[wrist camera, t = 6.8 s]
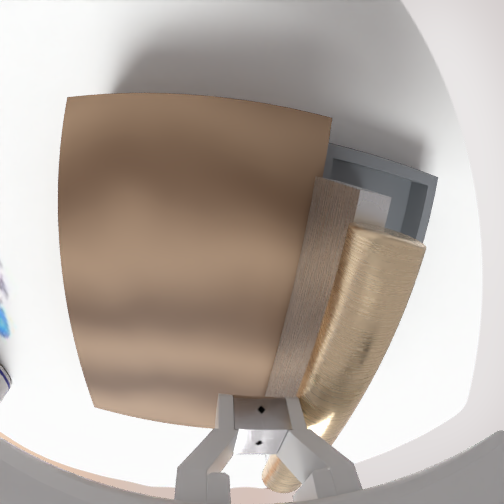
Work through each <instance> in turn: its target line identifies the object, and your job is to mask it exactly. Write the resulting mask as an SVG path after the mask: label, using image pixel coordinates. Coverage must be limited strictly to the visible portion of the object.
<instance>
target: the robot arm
mask: <svg viewBox="0 0 504 504" xmlns="http://www.w3.org/2000/svg"><path fill="white" fill-rule="evenodd" d="M233 454H277V456H278V458H279V459H280V460H281V461H282V462H283V463H284V465H285V466H286V467H287V468H288V469H289V470H290V471H291V472H292V474H293V475H294V476H295V477H296V478H297V479H298V480H299V481H300V482H301V483H302V486H301V487H300V488H299V489H298V490H297V491H296V492H295V494H294V495H293V502H288V503H275V504H504V431H497V432H496V433H494V434H492V435H491V436H489V437H487V438H486V439H484V440H483V441H481V442H479V443H477V444H476V445H474V446H472V447H470V448H468V449H467V450H465V451H463V452H461V453H459V454H457V455H455V456H453V457H451V458H449V459H447V460H444V461H442V462H440V463H438V464H436V465H434V466H431V467H429V468H426V469H424V470H421V471H419V472H416V473H414V474H411V475H409V476H406V477H403V478H400V479H397V480H394V481H391V482H388V483H385V484H381V485H378V486H375V487H371V488H367V489H362V486H361V483H360V481H359V478H358V475H357V472H356V469H355V466H354V464H353V463H352V462H351V461H350V460H349V459H347V458H346V457H345V456H343V455H342V454H341V453H340V452H338V451H337V450H336V449H335V448H333V447H332V446H331V445H330V444H328V443H327V442H326V441H325V440H324V439H322V438H321V437H320V436H319V435H318V434H316V433H315V432H314V431H313V430H312V429H307V426H306V423H305V419H304V415H303V412H302V408H301V405H300V401H299V398H298V397H266V396H258V397H255V396H241V395H228V394H218V401H217V408H216V419H215V428H214V429H213V430H212V431H211V432H210V433H209V434H208V436H207V437H206V438H205V439H204V440H203V441H202V442H201V443H200V444H199V445H198V446H197V448H196V449H195V450H194V451H193V452H192V453H191V454H190V455H189V456H188V457H187V458H186V459H185V460H184V461H183V462H182V463H181V464H180V465H179V466H178V468H177V477H176V487H175V499H167V498H161V497H155V496H150V495H145V494H141V493H136V492H132V491H128V490H124V489H119V488H116V487H113V486H109V485H106V484H103V483H99V482H96V481H93V480H90V479H87V478H84V477H82V476H79V475H76V474H74V473H71V472H69V471H66V470H64V469H61V468H59V467H57V466H54V465H52V464H50V463H48V462H46V461H43V460H41V459H39V458H37V457H35V456H33V455H31V454H29V453H27V452H25V451H24V450H22V449H20V448H18V447H16V446H15V445H12V444H11V443H9V442H8V441H6V440H4V439H3V438H1V437H0V504H231V499H230V480H229V476H228V475H227V474H226V473H220V472H221V471H222V470H223V468H224V467H225V466H226V464H227V463H228V462H229V460H230V459H231V457H232V456H233Z"/></svg>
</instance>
